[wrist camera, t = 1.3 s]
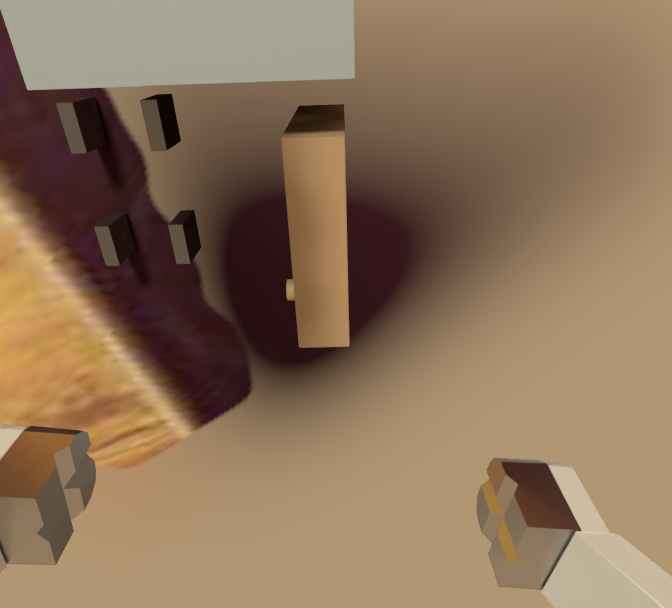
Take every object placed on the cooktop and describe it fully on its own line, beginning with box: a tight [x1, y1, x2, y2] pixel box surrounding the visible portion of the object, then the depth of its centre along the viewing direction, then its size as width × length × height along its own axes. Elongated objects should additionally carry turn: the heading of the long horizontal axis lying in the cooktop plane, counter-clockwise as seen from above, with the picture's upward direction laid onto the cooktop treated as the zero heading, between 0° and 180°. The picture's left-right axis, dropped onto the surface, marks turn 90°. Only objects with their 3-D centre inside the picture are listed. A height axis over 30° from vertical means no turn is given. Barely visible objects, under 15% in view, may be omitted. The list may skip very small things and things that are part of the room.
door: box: [281, 105, 349, 348], centre depth 30 cm, size 4×12×11 cm, turn 2°
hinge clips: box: [56, 94, 201, 266], centre depth 33 cm, size 6×11×3 cm, turn 2°
